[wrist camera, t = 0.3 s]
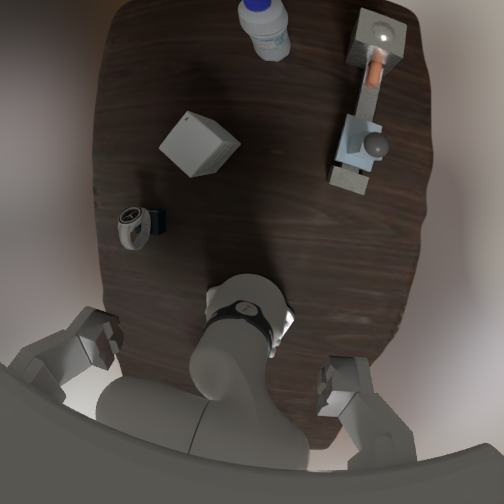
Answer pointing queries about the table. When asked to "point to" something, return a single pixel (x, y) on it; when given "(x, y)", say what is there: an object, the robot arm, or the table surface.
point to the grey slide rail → (360, 55)
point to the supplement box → (198, 145)
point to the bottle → (266, 27)
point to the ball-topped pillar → (361, 143)
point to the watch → (140, 225)
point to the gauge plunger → (374, 73)
